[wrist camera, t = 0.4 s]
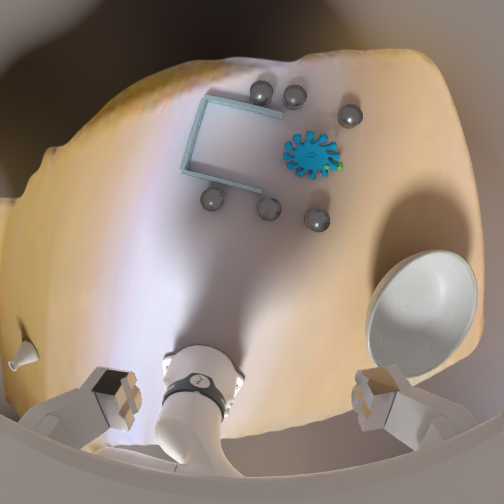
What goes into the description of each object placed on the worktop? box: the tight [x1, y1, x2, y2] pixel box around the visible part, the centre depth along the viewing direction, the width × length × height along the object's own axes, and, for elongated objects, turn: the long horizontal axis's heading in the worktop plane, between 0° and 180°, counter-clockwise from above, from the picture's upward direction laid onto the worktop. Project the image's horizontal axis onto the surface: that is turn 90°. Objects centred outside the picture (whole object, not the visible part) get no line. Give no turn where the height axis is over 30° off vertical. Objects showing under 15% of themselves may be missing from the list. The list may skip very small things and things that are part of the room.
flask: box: [8, 340, 39, 371], centre depth 56 cm, size 7×7×10 cm
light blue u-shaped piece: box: [180, 94, 284, 194], centre depth 49 cm, size 16×15×2 cm
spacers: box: [200, 81, 363, 232], centre depth 48 cm, size 26×24×4 cm
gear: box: [283, 131, 343, 179], centre depth 48 cm, size 11×6×10 cm
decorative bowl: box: [365, 249, 477, 379], centre depth 50 cm, size 27×27×12 cm
